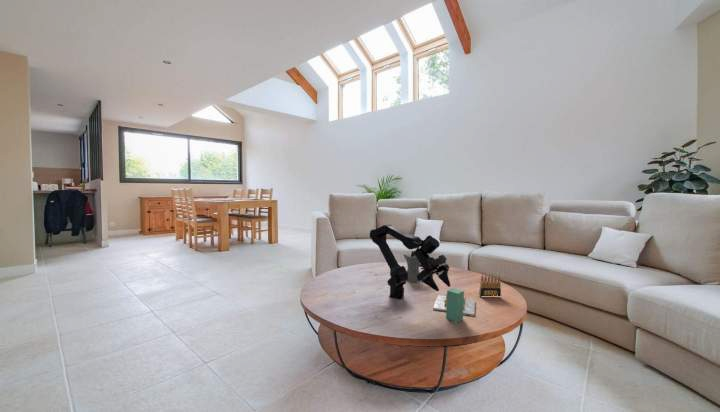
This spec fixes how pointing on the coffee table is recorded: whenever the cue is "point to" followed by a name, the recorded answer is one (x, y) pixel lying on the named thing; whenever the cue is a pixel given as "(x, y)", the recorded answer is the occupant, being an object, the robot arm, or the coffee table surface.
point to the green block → (454, 304)
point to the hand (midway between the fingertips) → (444, 288)
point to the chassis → (467, 305)
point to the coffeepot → (412, 267)
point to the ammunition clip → (490, 286)
